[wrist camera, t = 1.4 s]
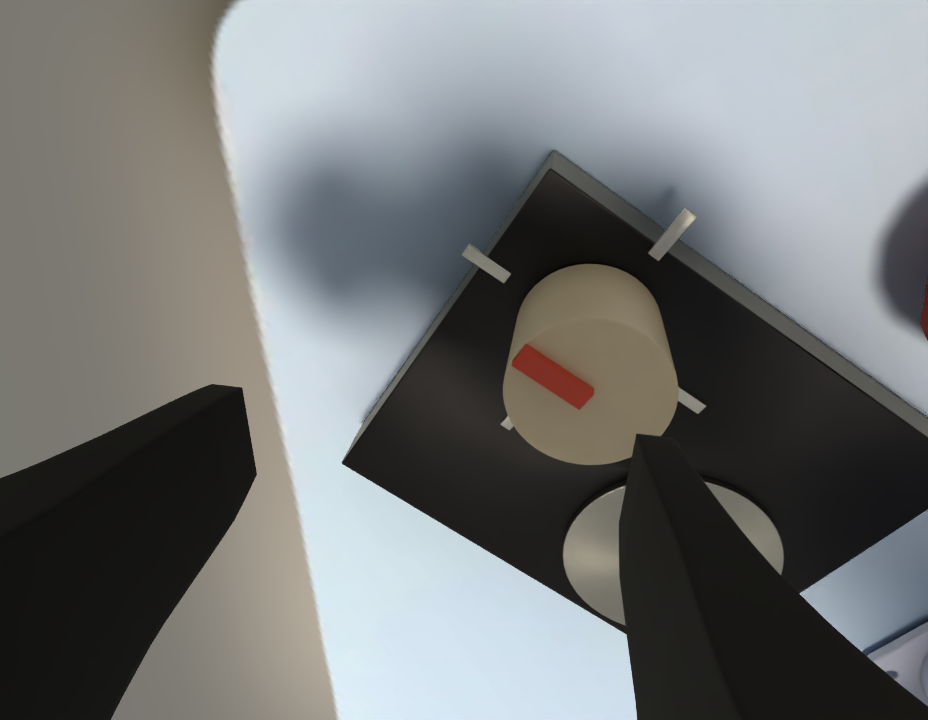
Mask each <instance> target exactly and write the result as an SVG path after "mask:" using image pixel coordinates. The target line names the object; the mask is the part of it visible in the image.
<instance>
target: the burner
mask: <svg viewBox="0 0 928 720" xmlns="http://www.w3.org/2000/svg"><path fill="white" fill-rule="evenodd" d="M701 478H702V479H703V480H704V482H705V483H706V485H707V486H708V487H709V489H710V490H711V491H712V493H713V494H714V496H715V497H716V498H717V500H718V501H719V502H720V504H721V505H722V506H723V507H724V509H725V510H726V511H727V512H728V514H729V515H730V516H731V518H732V519H733V520H734V521H735V523H736V524H737V525H738V526H739V528H740V529H741V530H742V532H743V533H744V534H745V535H746V536H747V538H748V539H749V540H750V541H751V542H752V544H753V545H754V546H755V547H756V548H757V549H758V551H759V552H760V553H761V554H762V555H763V556H764V557H765V558H766V560H767V561H768V562H769V563H770V564H771V565H772V566H773V567H774V569H775V570H776V571H777V572H778V573H779V574H780V575H781V574H782V570H783V565H784V548H783V544H782V540H781V537H780V534H779V531H778V529H777V527H776V525H775V523H774V521H773V520H772V518H771V517H770V516H769V514H768V513H767V511H766V510H765V509H764V508H763V507H762V506H761V505H760V504H759V503H758V502H756V501H755V500H754V499H752V498H751V497H750V496H748V495H747V494H746V493H744V492H742V491H740V490H739V489H737V488H735V487H733V486H731V485H729V484H726V483H724V482H721V481H718V480H715V479H712V478H708V477H704V476H701ZM626 484H627V479H626V480H624V481H621V482H618V483H615V484H613V485H611V486H609V487H607V488H605V489H603V490H602V491H600V492H598V493H597V494H595V495H594V496H592V497H591V498H590V499H589V500H588V501H586V502H585V503H584V504H583V505H582V506H581V507H580V508H579V509H578V511H577V512H576V513H575V515H574V516H573V518H572V519H571V521H570V523H569V525H568V527H567V529H566V532H565V536H564V540H563V554H562V555H563V565H564V568H565V572H566V575H567V577H568V579H569V581H570V583H571V585H572V586H573V588H574V589H575V591H576V592H577V594H578V595H579V596H580V597H581V598H582V599H583V600H584V601H585V602H586V603H587V604H588V605H590V606H591V607H592V608H593V609H595V610H596V611H598V612H599V613H601V614H602V615H604V616H606V617H608V618H609V619H611V620H613V621H616V622H618V623H620V624H623V625H625V618H624V610H623V602H622V594H621V586H620V578H619V519H620V514H621V509H622V504H623V499H624V494H625V489H626Z"/></svg>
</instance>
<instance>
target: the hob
mask: <svg viewBox="0 0 928 720" xmlns="http://www.w3.org/2000/svg"><path fill="white" fill-rule="evenodd" d="M696 218H697V217H696V216H695V215H694V214H693V213H691V212H690V211H689V210H687V209H686V208H684V210H683V211H682V212H681V213H680V214H679V215H678V217H677V218H676V219H675V220H674V221H673V222H672V223H671V225H670V226H669V227H668V228H667V229H666V230H665V229H664V228H662V227H661V226H659V225H658V224H657V223H655V222H654V221H653V220H651V219H650V218H648V217H647V216H646V215H644V214H643V213H641V212H640V211H639V210H637V209H636V208H634V207H633V206H632V205H630V204H629V203H627V202H626V201H625V200H623V199H622V198H621V197H619V196H618V195H616V194H615V193H614V192H612V191H611V190H609V189H608V188H607V187H605V186H604V185H602V184H601V183H600V182H598V181H597V180H595V179H594V178H593V177H591V176H590V175H588V174H587V173H586V172H584V171H583V170H582V169H580V168H579V167H577V166H576V165H575V164H573V163H572V162H570V161H569V160H568V159H566V158H565V157H563V156H562V155H561V154H559V153H558V152H556V151H552V153H551V154H550V156H549V157H548V159H547V160H546V161H545V163H544V164H543V166H542V167H541V169H540V170H539V171H538V173H537V174H536V176H535V177H534V179H533V180H532V181H531V183H530V184H529V186H528V187H527V189H526V190H525V192H524V193H523V194H522V196H521V197H520V199H519V200H518V202H517V203H516V204H515V206H514V207H513V209H512V210H511V212H510V213H509V214H508V216H507V217H506V219H505V220H504V222H503V223H502V224H501V226H500V227H499V229H498V230H497V232H496V233H495V235H494V236H493V237H492V239H491V240H490V242H489V243H488V245H487V246H486V247H485V249H484V250H483V252H482V251H480V250H479V249H477V248H476V247H474V246H473V245H471V244H470V243H469V245H468V246H467V247H466V249H465V250H464V252H463V253H462V256H464V257H465V258H467V259H468V260H470V261H471V262H473V263H474V265H473V266H472V267H471V269H470V270H469V272H468V273H467V275H466V276H465V278H464V279H463V280H462V282H461V283H460V285H459V286H458V288H457V289H456V290H455V292H454V293H453V295H452V296H451V298H450V299H449V300H448V302H447V303H446V305H445V306H444V308H443V309H442V310H441V312H440V313H439V315H438V316H437V318H436V319H435V321H434V322H433V323H432V325H431V326H430V328H429V329H428V331H427V332H426V333H425V335H424V336H423V338H422V339H421V341H420V342H419V343H418V345H417V346H416V348H415V349H414V351H413V352H412V353H411V355H410V356H409V358H408V359H407V361H406V362H405V364H404V365H403V366H402V368H401V369H400V371H399V372H398V374H397V375H396V376H395V378H394V379H393V381H392V382H391V384H390V385H389V386H388V388H387V389H386V391H385V392H384V394H383V395H382V397H381V398H380V399H379V401H378V402H377V404H376V405H375V407H374V408H373V409H372V411H371V412H370V414H369V415H368V417H367V418H366V419H365V421H364V422H363V424H362V426H361V428H360V430H359V431H358V433H357V435H356V437H355V439H354V441H353V443H352V444H351V446H350V448H349V450H348V452H347V454H346V456H345V457H344V459H343V461H342V464H343V465H345V466H347V467H348V468H350V469H352V470H353V471H355V472H357V473H358V474H360V475H362V476H363V477H365V478H367V479H368V480H370V481H372V482H373V483H375V484H377V485H378V486H380V487H382V488H383V489H385V490H387V491H388V492H390V493H392V494H393V495H395V496H397V497H398V498H400V499H402V500H403V501H405V502H407V503H408V504H410V505H412V506H413V507H415V508H417V509H418V510H420V511H422V512H423V513H425V514H427V515H428V516H430V517H432V518H433V519H435V520H437V521H438V522H440V523H442V524H443V525H445V526H447V527H448V528H450V529H452V530H453V531H455V532H457V533H458V534H460V535H462V536H463V537H465V538H467V539H468V540H470V541H472V542H473V543H475V544H477V545H478V546H480V547H482V548H483V549H485V550H487V551H488V552H490V553H492V554H493V555H495V556H497V557H498V558H500V559H502V560H503V561H505V562H507V563H508V564H510V565H512V566H513V567H515V568H517V569H518V570H520V571H522V572H523V573H525V574H527V575H528V576H530V577H532V578H533V579H535V580H537V581H538V582H540V583H542V584H543V585H545V586H547V587H548V588H550V589H552V590H553V591H555V592H557V593H558V594H560V595H562V596H563V597H565V598H567V599H568V600H570V601H572V602H573V603H575V604H577V605H578V606H580V607H582V608H583V609H585V610H587V611H588V612H590V613H592V614H593V615H595V616H597V617H598V618H600V619H602V620H603V621H605V622H607V623H608V624H610V625H612V626H613V627H615V628H617V629H618V630H620V631H622V632H623V633H625V634H627V633H626V625H623V624H620V623H618V622H616V621H613V620H611V619H609V618H608V617H606V616H604V615H602V614H601V613H599V612H598V611H596V610H595V609H593V608H592V607H591V606H590V605H588V604H587V603H586V602H585V601H584V600H583V599H582V598H581V597H580V596H579V595H578V594H577V592H576V591H575V589H574V588H573V586H572V585H571V583H570V581H569V579H568V577H567V575H566V572H565V568H564V565H563V555H562V554H563V540H564V536H565V532H566V529H567V527H568V525H569V523H570V521H571V519H572V518H573V516H574V515H575V513H576V512H577V511H578V509H579V508H580V507H581V506H582V505H583V504H584V503H585V502H586V501H588V500H589V499H590V498H591V497H592V496H594V495H595V494H597V493H598V492H600V491H602V490H603V489H605V488H607V487H609V486H611V485H613V484H615V483H618V482H621V481H624V480H626V479H627V478H628V473H629V468H630V463H631V458H632V457H630V458H627V459H624V460H621V461H618V462H614V463H609V464H601V465H582V464H574V463H569V462H565V461H561V460H558V459H555V458H553V457H551V456H548V455H546V454H544V453H543V452H541V451H539V450H537V449H536V448H535V447H533V446H532V445H530V444H529V443H528V442H527V441H526V440H525V439H524V438H523V437H522V436H521V435H520V434H519V432H518V431H517V430H516V429H515V427H514V425H513V424H512V422H511V421H510V418H509V416H508V414H507V411H506V408H505V405H504V399H503V382H504V376H505V371H506V366H507V362H508V357H509V353H510V348H511V344H512V339H513V334H514V330H515V325H516V321H517V316H518V313H519V310H520V307H521V305H522V303H523V301H524V299H525V298H526V296H527V295H528V293H529V292H530V291H531V290H532V288H533V287H534V286H535V285H536V284H537V283H539V282H540V281H541V280H542V279H544V278H545V277H547V276H548V275H550V274H552V273H554V272H556V271H558V270H560V269H563V268H566V267H569V266H574V265H580V264H600V265H606V266H611V267H614V268H617V269H620V270H622V271H624V272H627V273H628V274H630V275H632V276H633V277H635V278H636V279H637V280H639V281H640V282H641V283H642V284H643V285H644V286H645V287H646V288H647V289H648V290H649V291H650V293H651V294H652V296H653V297H654V299H655V301H656V303H657V305H658V307H659V310H660V314H661V317H662V321H663V325H664V329H665V333H666V337H667V340H668V344H669V348H670V352H671V356H672V360H673V364H674V367H675V371H676V375H677V380H678V402H677V407H676V410H675V413H674V416H673V418H672V420H671V422H670V424H669V426H668V427H667V428H666V430H665V431H664V433H663V434H662V435H661V436H663V437H671V438H674V440H675V441H676V442H677V443H678V445H679V446H680V448H681V449H682V450H683V452H684V453H685V455H686V456H687V458H688V459H689V461H690V462H691V463H692V465H693V466H694V468H695V469H696V471H697V472H698V473H699V475H700V476H704V477H708V478H712V479H715V480H718V481H721V482H724V483H726V484H729V485H731V486H733V487H735V488H737V489H739V490H740V491H742V492H744V493H746V494H747V495H748V496H750V497H751V498H752V499H754V500H755V501H756V502H758V503H759V504H760V505H761V506H762V507H763V508H764V509H765V510H766V511H767V513H768V514H769V516H770V517H771V518H772V520H773V521H774V523H775V525H776V527H777V529H778V531H779V534H780V537H781V540H782V544H783V548H784V565H783V570H782V574H781V576H782V577H783V578H784V579H785V580H786V581H787V582H788V583H789V584H790V585H791V586H792V587H793V588H794V589H795V590H796V591H797V592H798V593H801V592H802V591H804V590H805V589H807V588H808V587H810V586H811V585H813V584H815V583H816V582H818V581H819V580H821V579H822V578H824V577H825V576H827V575H828V574H830V573H831V572H833V571H834V570H836V569H837V568H839V567H840V566H842V565H844V564H845V563H847V562H848V561H850V560H851V559H853V558H854V557H856V556H857V555H859V554H860V553H862V552H863V551H865V550H866V549H868V548H869V547H871V546H872V545H874V544H876V543H877V542H879V541H880V540H882V539H883V538H885V537H886V536H888V535H889V534H891V533H892V532H894V531H895V530H897V529H898V528H900V527H901V526H903V525H905V524H906V523H908V522H909V521H911V520H912V519H914V518H915V517H917V516H918V515H920V514H921V513H923V512H924V511H926V510H927V509H928V418H927V417H925V416H924V415H923V414H921V413H920V412H918V411H917V410H916V409H914V408H913V407H911V406H910V405H909V404H907V403H906V402H904V401H903V400H902V399H900V398H899V397H897V396H896V395H895V394H893V393H892V392H891V391H889V390H888V389H886V388H885V387H884V386H882V385H881V384H879V383H878V382H877V381H875V380H874V379H872V378H871V377H870V376H868V375H867V374H865V373H864V372H863V371H861V370H860V369H858V368H857V367H856V366H854V365H853V364H852V363H850V362H849V361H847V360H846V359H845V358H843V357H842V356H840V355H839V354H838V353H836V352H835V351H833V350H832V349H831V348H829V347H828V346H826V345H825V344H824V343H822V342H821V341H820V340H818V339H817V338H815V337H814V336H813V335H811V334H810V333H808V332H807V331H806V330H804V329H803V328H801V327H800V326H799V325H797V324H796V323H794V322H793V321H792V320H790V319H789V318H788V317H786V316H785V315H783V314H782V313H781V312H779V311H778V310H776V309H775V308H774V307H772V306H771V305H769V304H768V303H767V302H765V301H764V300H762V299H761V298H760V297H758V296H757V295H756V294H754V293H753V292H751V291H750V290H749V289H747V288H746V287H744V286H743V285H742V284H740V283H739V282H737V281H736V280H735V279H733V278H732V277H730V276H729V275H728V274H726V273H725V272H723V271H722V270H721V269H719V268H718V267H717V266H715V265H714V264H712V263H711V262H710V261H708V260H707V259H705V258H704V257H703V256H701V255H700V254H698V253H697V252H696V251H694V250H693V249H691V248H690V247H689V246H687V245H686V244H685V243H683V242H682V241H680V240H679V237H680V236H681V235H682V234H683V233H684V232H685V231H686V229H687V228H688V227H689V226H690V225H691V224H692V223H693V221H694V220H695V219H696Z"/></svg>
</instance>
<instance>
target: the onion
mask: <svg viewBox="0 0 928 720" xmlns="http://www.w3.org/2000/svg"><path fill="white" fill-rule="evenodd" d="M920 326H921V328H922V330H923V332H924V334H925V336H926V338H927V340H928V279H927V285H926V291H925V297H924V303H923V309H922V315H921V321H920Z"/></svg>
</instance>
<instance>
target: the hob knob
mask: <svg viewBox="0 0 928 720" xmlns="http://www.w3.org/2000/svg"><path fill="white" fill-rule="evenodd" d="M503 399H504V405H505V408H506V411H507V414H508V416H509V418H510V421H511V422H512V424H513V425H514V427H515V429H516V430H517V431H518V432H519V434H520V435H521V436H522V437H523V438H524V439H525V440H526V441H527V442H528V443H529V444H530V445H532V446H533V447H535V448H536V449H537V450H539V451H541V452H543V453H544V454H546V455H548V456H551V457H553V458H555V459H558V460H561V461H565V462H569V463H574V464H582V465H601V464H609V463H614V462H618V461H621V460H624V459H627V458H630V457H632V453H633V448H634V443H635V438H636V433H637V434H645V435H654V436H661V435H662V434H663V433H664V431H665V430H666V428H667V427H668V426H669V424H670V422H671V420H672V418H673V416H674V413H675V410H676V407H677V402H678V380H677V375H676V371H675V367H674V364H673V360H672V356H671V352H670V348H669V344H668V340H667V337H666V333H665V329H664V325H663V321H662V317H661V314H660V310H659V307H658V305H657V303H656V301H655V299H654V297H653V296H652V294H651V293H650V291H649V290H648V289H647V288H646V287H645V286H644V285H643V284H642V283H641V282H640V281H639V280H637V279H636V278H635V277H633V276H632V275H630V274H628V273H627V272H624V271H622V270H620V269H617V268H614V267H611V266H606V265H600V264H580V265H574V266H569V267H566V268H563V269H560V270H558V271H556V272H554V273H552V274H550V275H548V276H547V277H545V278H544V279H542V280H541V281H540V282H539V283H537V284H536V285H535V286H534V287H533V288H532V290H531V291H530V292H529V293H528V295H527V296H526V298H525V299H524V301H523V303H522V305H521V307H520V310H519V313H518V316H517V321H516V325H515V330H514V334H513V339H512V344H511V348H510V353H509V357H508V362H507V366H506V371H505V376H504V382H503Z"/></svg>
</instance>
